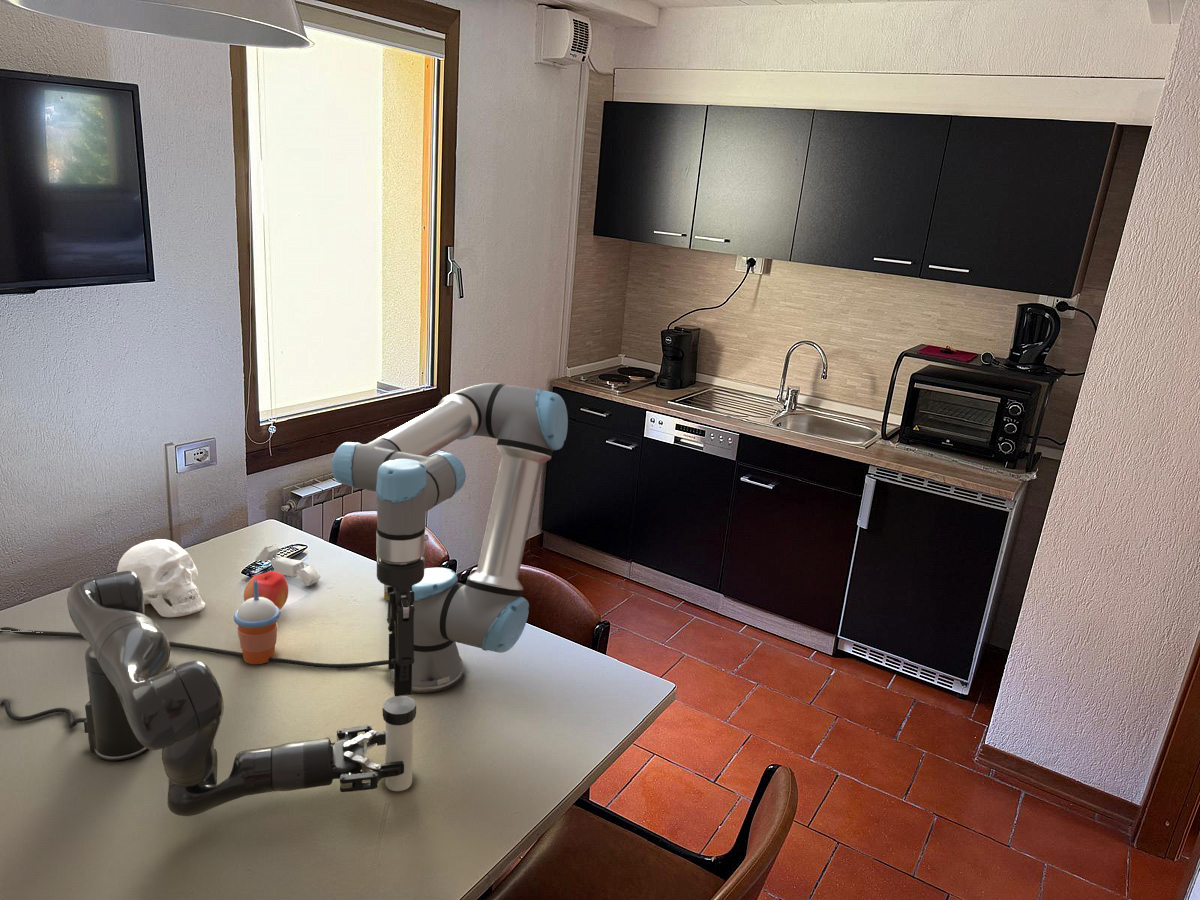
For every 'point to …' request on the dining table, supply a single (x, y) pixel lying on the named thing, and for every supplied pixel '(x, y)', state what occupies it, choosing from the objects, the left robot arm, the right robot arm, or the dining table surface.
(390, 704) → the lid
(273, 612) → the cup with straw
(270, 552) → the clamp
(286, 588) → the apple
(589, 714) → the dining table surface
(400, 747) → the jar
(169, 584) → the skull
